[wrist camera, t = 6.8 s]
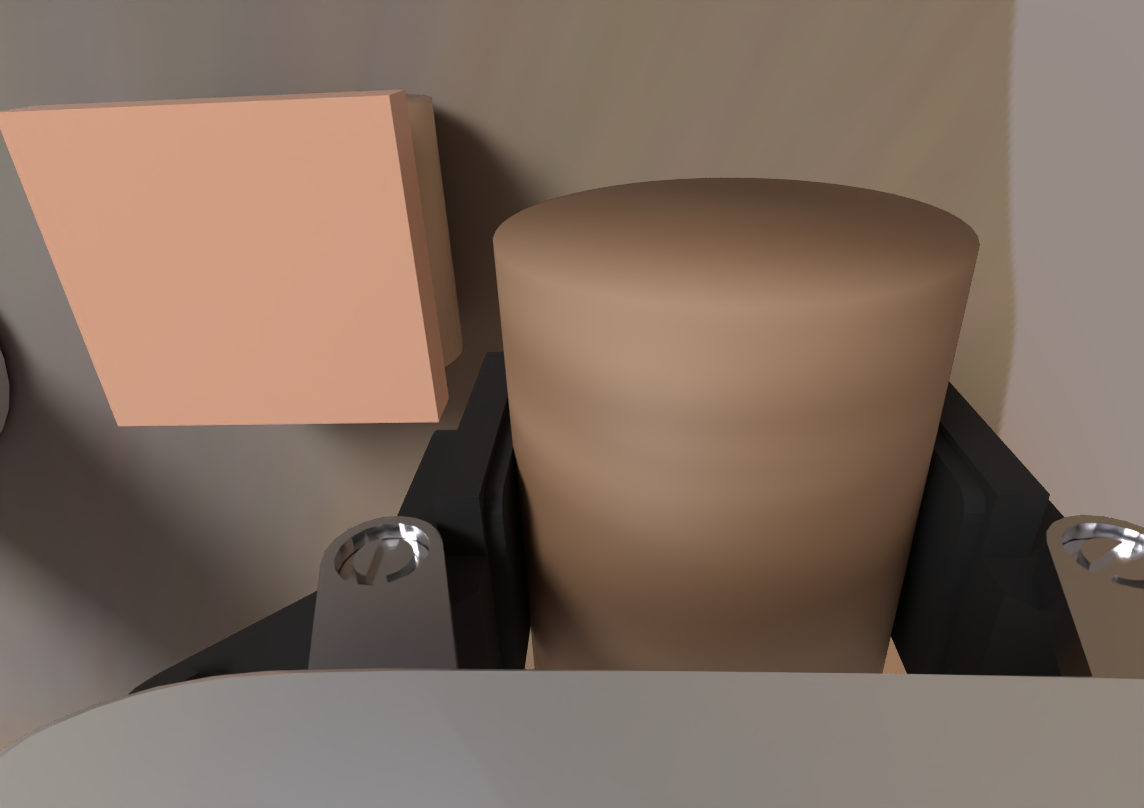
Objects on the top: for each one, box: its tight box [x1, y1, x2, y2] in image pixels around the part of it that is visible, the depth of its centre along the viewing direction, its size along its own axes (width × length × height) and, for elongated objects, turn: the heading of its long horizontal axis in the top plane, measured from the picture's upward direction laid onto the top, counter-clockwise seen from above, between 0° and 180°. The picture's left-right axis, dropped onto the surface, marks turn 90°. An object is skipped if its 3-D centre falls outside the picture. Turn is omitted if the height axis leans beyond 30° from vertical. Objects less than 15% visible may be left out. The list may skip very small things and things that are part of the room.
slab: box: [0, 89, 463, 426], centre depth 23 cm, size 10×9×6 cm
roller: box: [493, 178, 980, 674], centre depth 10 cm, size 8×5×5 cm, turn 2°
